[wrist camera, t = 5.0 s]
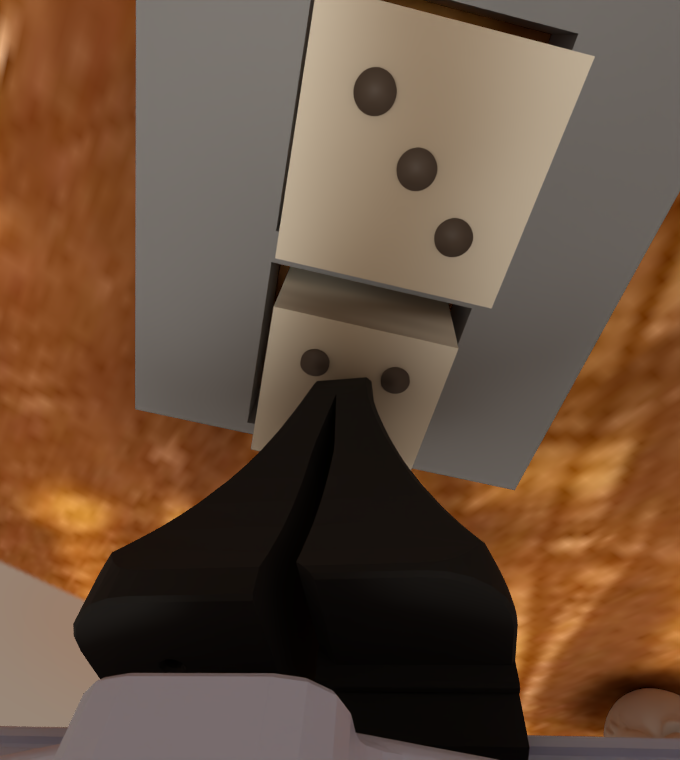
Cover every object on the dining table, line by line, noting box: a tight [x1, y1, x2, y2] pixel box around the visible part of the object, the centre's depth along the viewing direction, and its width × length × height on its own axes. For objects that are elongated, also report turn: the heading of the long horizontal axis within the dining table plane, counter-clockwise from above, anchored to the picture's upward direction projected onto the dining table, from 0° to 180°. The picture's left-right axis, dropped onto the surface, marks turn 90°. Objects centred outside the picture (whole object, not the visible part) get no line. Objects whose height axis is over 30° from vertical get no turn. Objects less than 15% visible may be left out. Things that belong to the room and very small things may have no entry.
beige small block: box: [275, 0, 595, 308], centre depth 11 cm, size 4×4×3 cm
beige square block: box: [251, 266, 459, 470], centre depth 15 cm, size 4×4×3 cm
